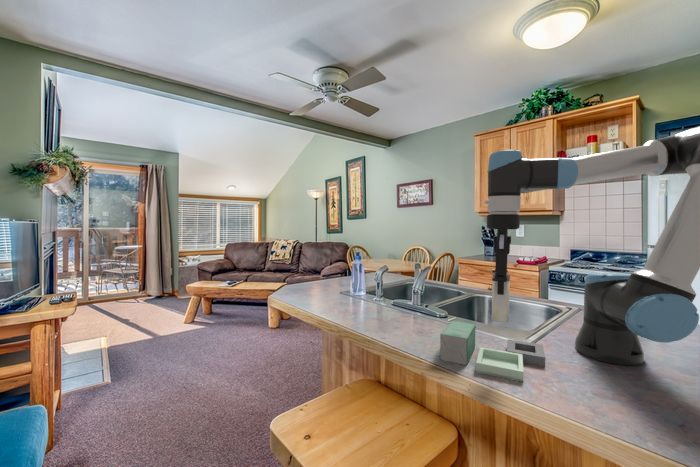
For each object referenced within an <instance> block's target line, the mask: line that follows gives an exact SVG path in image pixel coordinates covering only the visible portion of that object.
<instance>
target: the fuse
mask: <svg viewBox="0 0 700 467" xmlns="http://www.w3.org/2000/svg"><path fill="white" fill-rule="evenodd" d="M502 276H503V275H502ZM491 277H492V278H494V279H495V272H492V276H491ZM506 277H507V299H506V308H504V307H495V306H494V297H495V281H492V280H491V281H492V286H491V287H492V288H491V316H490V317H491V321H494V322H497V323H508V322H509V320H510V317H509V313H510V288H511V287H510V286H511V285H510V282H511V273H509V272H507V275H506ZM492 278H491V279H492Z"/></svg>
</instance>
